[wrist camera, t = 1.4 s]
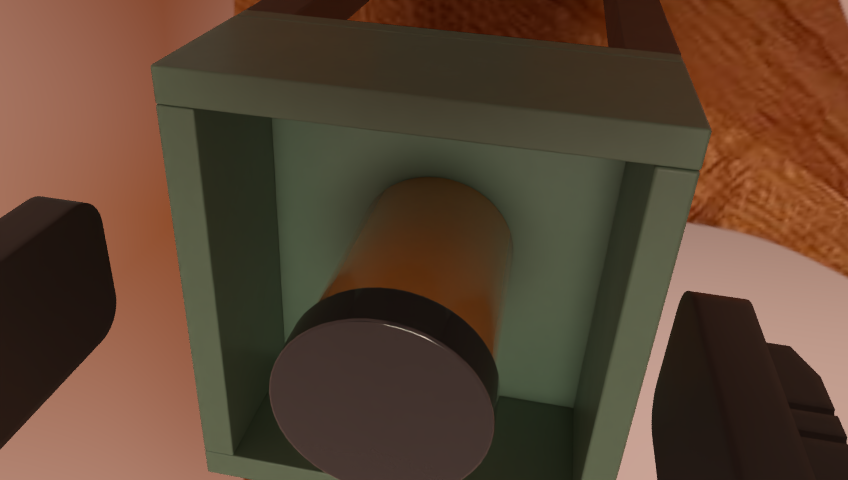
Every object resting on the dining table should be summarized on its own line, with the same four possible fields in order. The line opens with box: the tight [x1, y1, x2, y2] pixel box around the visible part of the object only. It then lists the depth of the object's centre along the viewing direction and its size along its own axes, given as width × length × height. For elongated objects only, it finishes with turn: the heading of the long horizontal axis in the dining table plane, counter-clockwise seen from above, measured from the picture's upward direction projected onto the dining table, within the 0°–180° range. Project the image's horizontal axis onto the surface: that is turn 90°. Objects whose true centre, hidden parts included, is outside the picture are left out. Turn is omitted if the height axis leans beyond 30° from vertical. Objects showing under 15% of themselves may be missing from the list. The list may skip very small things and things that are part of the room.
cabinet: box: [151, 0, 712, 480], centre depth 32 cm, size 14×13×28 cm
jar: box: [269, 177, 513, 480], centre depth 21 cm, size 6×6×8 cm
